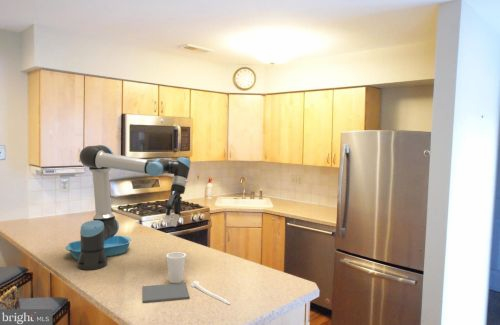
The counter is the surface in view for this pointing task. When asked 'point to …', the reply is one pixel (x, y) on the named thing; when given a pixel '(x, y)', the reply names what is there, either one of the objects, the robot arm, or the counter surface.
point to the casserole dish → (111, 246)
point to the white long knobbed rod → (196, 284)
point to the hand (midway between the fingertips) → (170, 224)
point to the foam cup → (176, 266)
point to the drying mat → (165, 292)
